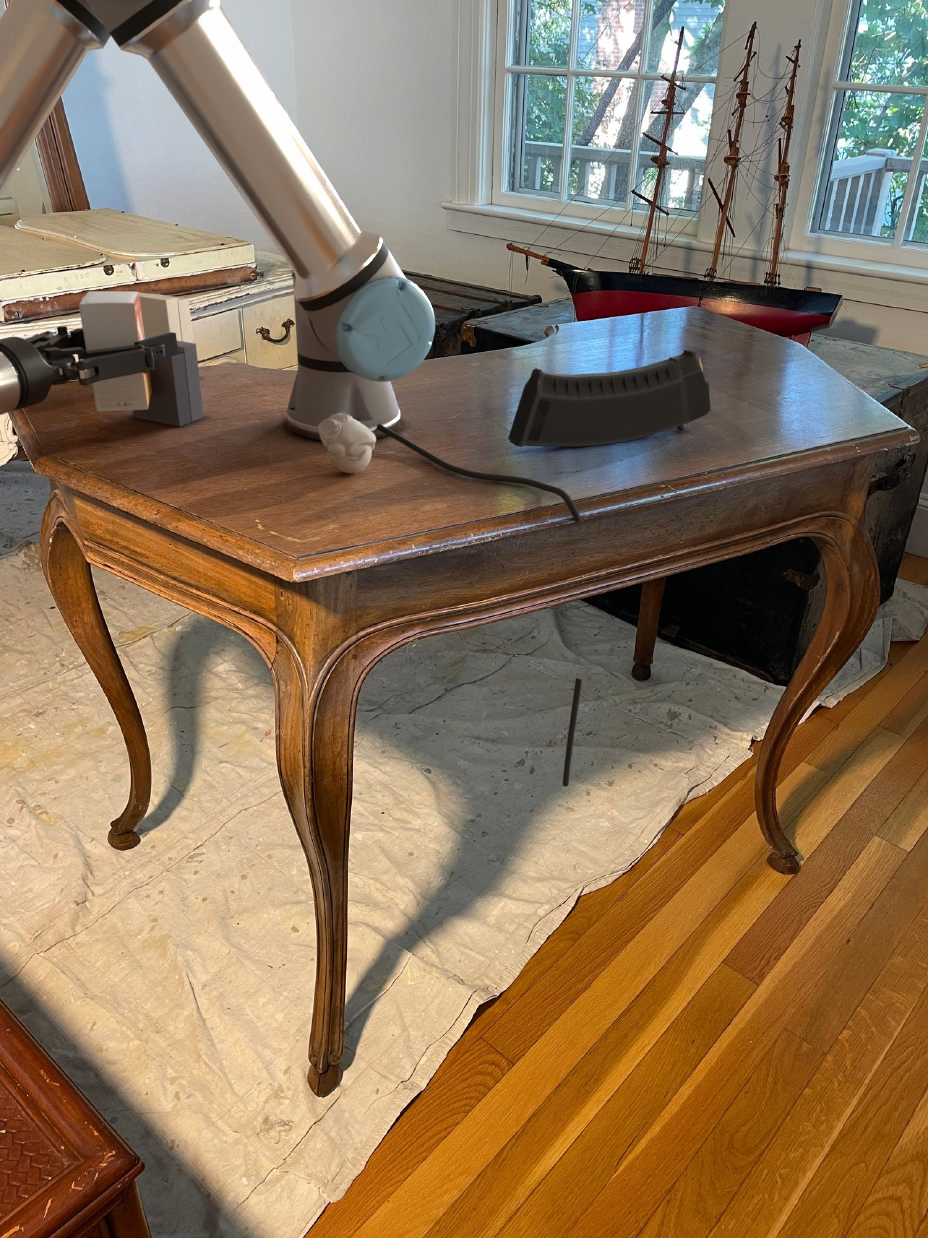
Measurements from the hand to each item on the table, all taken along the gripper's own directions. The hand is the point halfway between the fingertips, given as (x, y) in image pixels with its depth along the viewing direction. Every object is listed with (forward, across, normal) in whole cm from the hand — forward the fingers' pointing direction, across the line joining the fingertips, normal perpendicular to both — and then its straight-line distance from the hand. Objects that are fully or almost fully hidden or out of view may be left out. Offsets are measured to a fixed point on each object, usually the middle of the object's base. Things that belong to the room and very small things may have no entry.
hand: (143, 338), depth 118 cm
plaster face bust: (-2, +32, -12) cm, 34 cm away
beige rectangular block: (+18, -13, -11) cm, 25 cm away
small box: (-5, 0, -7) cm, 9 cm away
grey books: (+3, 0, -11) cm, 12 cm away
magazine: (+26, +56, -12) cm, 63 cm away
